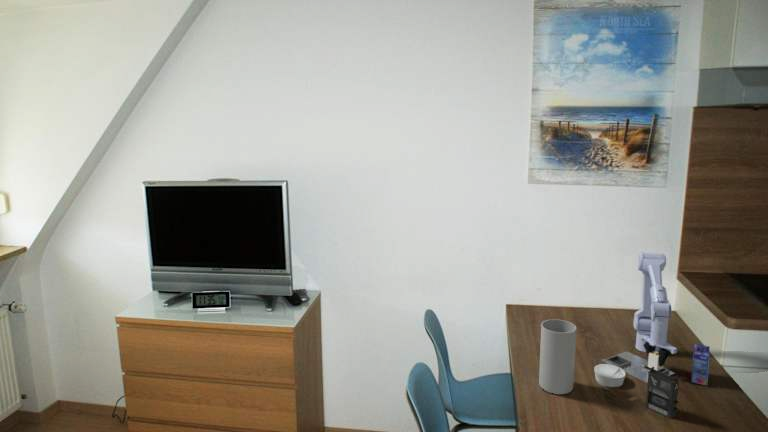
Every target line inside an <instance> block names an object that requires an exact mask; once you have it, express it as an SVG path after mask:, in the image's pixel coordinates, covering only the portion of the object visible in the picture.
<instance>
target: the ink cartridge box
mask: <svg viewBox="0 0 768 432" xmlns="http://www.w3.org/2000/svg"><path fill="white" fill-rule="evenodd" d="M710 351H711V350H710V346H709V345H704V344H703V345H702V344H700V342H699V341H697V343H695V344H694V347H693V355H692V356H693V357H692V367H691V368H692V369H691V383H695V384H699V385H703V386H708V380H709V367H710V366H709V364H710Z"/></svg>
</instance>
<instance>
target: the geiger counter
mask: <svg viewBox="0 0 768 432" xmlns="http://www.w3.org/2000/svg"><path fill="white" fill-rule="evenodd" d="M679 383H680V378H679V377H678V375H675V376H671V375H670V376H669V375H666V374H663V373H661V372H658V371H656V370H655V369H654V367H652V368H651V370H650V371H649V372H648V383H646V384H647V386H646V387H647V388H646V398H645V408H646V409H649V410H651V411H653V412H655V413H657V414H659V415H661V416H664V417H665V418H669V419H674V417H676V416H677V412H678V410H679V408H677V406H678V405H679V401H678V394H679Z"/></svg>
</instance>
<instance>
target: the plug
mask: <svg viewBox="0 0 768 432" xmlns="http://www.w3.org/2000/svg"><path fill="white" fill-rule="evenodd" d="M647 361H648V367H649V368H652V367H654V369H655V370H656V371H658V370H661V369H663V367H664V368H665V364H664V365H663V366H659V353H658V351H653V352H650V353H649V357H648V356H647Z"/></svg>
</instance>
